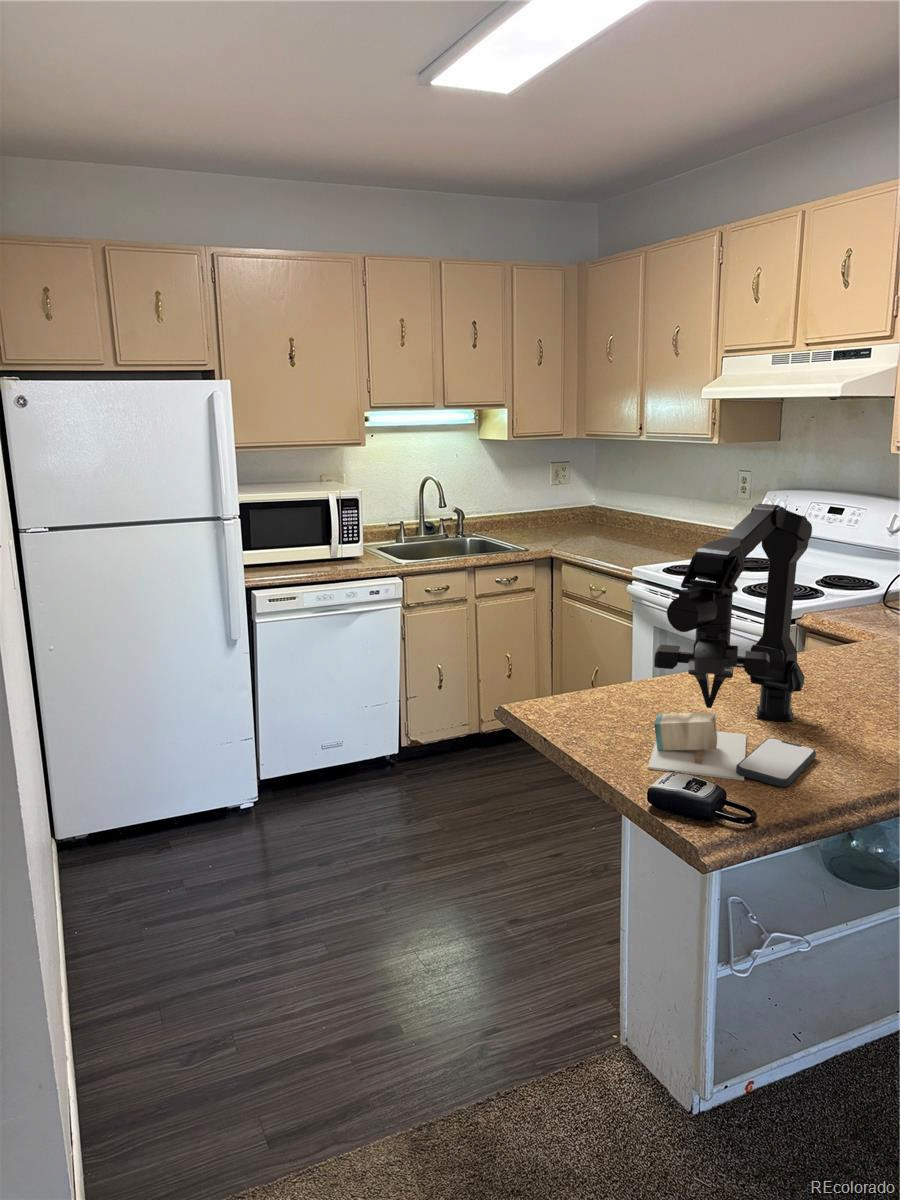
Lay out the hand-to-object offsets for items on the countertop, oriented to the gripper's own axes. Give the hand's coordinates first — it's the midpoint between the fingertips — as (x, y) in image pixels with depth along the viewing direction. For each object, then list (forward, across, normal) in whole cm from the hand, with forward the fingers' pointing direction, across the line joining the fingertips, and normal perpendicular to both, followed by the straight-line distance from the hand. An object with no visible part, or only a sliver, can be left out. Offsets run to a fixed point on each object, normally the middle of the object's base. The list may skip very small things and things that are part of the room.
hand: (709, 707), depth 150 cm
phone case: (+8, +12, -3) cm, 15 cm away
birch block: (+4, +1, 0) cm, 4 cm away
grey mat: (+8, -1, 0) cm, 9 cm away
